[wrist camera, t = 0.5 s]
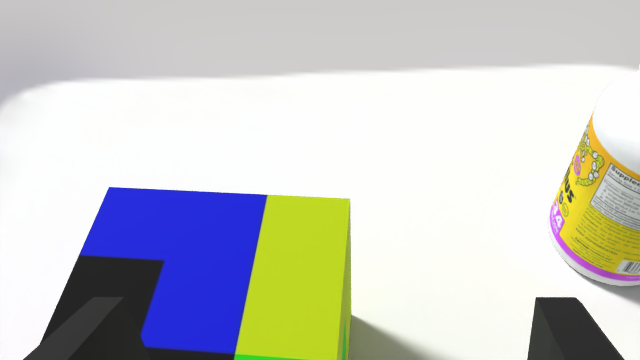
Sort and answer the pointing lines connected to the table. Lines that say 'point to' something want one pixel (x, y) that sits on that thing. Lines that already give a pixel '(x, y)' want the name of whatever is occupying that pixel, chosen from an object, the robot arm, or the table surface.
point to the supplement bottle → (604, 191)
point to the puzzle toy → (221, 273)
